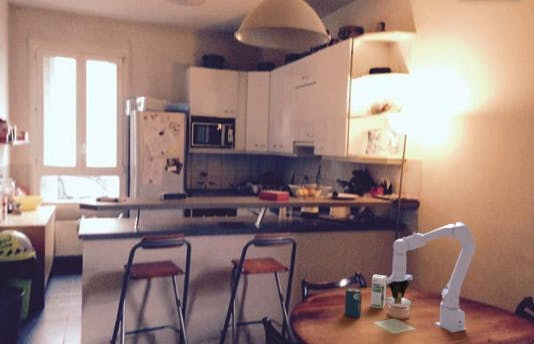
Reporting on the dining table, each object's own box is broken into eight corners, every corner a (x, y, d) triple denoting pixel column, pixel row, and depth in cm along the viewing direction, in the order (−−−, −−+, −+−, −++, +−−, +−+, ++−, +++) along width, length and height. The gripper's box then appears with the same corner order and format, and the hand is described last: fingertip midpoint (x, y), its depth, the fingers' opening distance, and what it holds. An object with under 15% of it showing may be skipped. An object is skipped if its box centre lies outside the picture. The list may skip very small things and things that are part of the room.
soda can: (362, 319, 187) (363, 292, 186) (346, 319, 187) (347, 291, 186) (358, 313, 194) (359, 287, 193) (343, 312, 194) (344, 286, 193)
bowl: (413, 317, 191) (413, 308, 191) (397, 320, 187) (398, 311, 187) (398, 310, 199) (398, 301, 199) (383, 313, 195) (383, 304, 195)
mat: (415, 329, 178) (415, 328, 178) (393, 334, 172) (393, 333, 172) (394, 319, 188) (394, 318, 188) (373, 323, 183) (373, 322, 183)
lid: (416, 305, 186) (417, 294, 186) (396, 308, 181) (397, 297, 181) (398, 297, 196) (399, 286, 196) (379, 300, 191) (379, 289, 191)
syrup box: (370, 307, 202) (371, 276, 201) (373, 303, 207) (374, 273, 207) (382, 309, 199) (384, 278, 199) (385, 305, 205) (387, 275, 204)
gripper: (404, 263, 195) (403, 292, 195) (380, 266, 188) (378, 297, 189) (416, 267, 188) (415, 297, 189) (391, 270, 182) (390, 302, 182)
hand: (397, 297), depth 188 cm, fingers closed on lid, 3 cm apart
